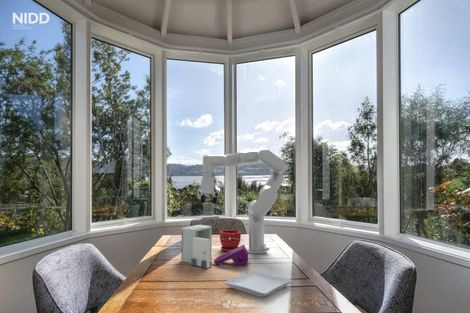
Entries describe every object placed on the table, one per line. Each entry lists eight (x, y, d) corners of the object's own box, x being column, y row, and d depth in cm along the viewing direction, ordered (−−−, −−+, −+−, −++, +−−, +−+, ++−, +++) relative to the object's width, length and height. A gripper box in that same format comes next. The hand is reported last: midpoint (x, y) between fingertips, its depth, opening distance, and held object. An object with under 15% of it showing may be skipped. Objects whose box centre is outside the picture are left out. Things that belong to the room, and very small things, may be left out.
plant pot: (240, 253, 191) (240, 233, 192) (219, 252, 192) (219, 233, 192) (240, 247, 204) (240, 229, 205) (220, 247, 205) (220, 229, 205)
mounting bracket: (219, 278, 164) (250, 263, 163) (212, 263, 164) (243, 248, 164) (221, 272, 173) (250, 258, 172) (214, 258, 174) (244, 244, 173)
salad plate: (253, 276, 148) (253, 269, 149) (293, 287, 135) (292, 279, 135) (223, 289, 132) (223, 281, 132) (265, 302, 119) (265, 293, 119)
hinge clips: (211, 266, 163) (211, 258, 163) (204, 269, 159) (204, 261, 159) (198, 263, 169) (198, 256, 169) (191, 266, 164) (191, 258, 164)
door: (210, 266, 162) (210, 239, 162) (205, 268, 159) (205, 240, 160) (195, 263, 168) (195, 237, 168) (191, 265, 165) (191, 238, 166)
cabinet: (211, 258, 180) (211, 226, 181) (194, 263, 168) (195, 230, 169) (198, 255, 186) (198, 224, 187) (181, 260, 174) (181, 228, 175)
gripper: (223, 175, 192) (223, 203, 191) (202, 175, 202) (202, 201, 201) (215, 175, 186) (215, 204, 185) (194, 175, 196) (194, 202, 195)
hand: (208, 203), depth 193 cm, fingers open, 9 cm apart
